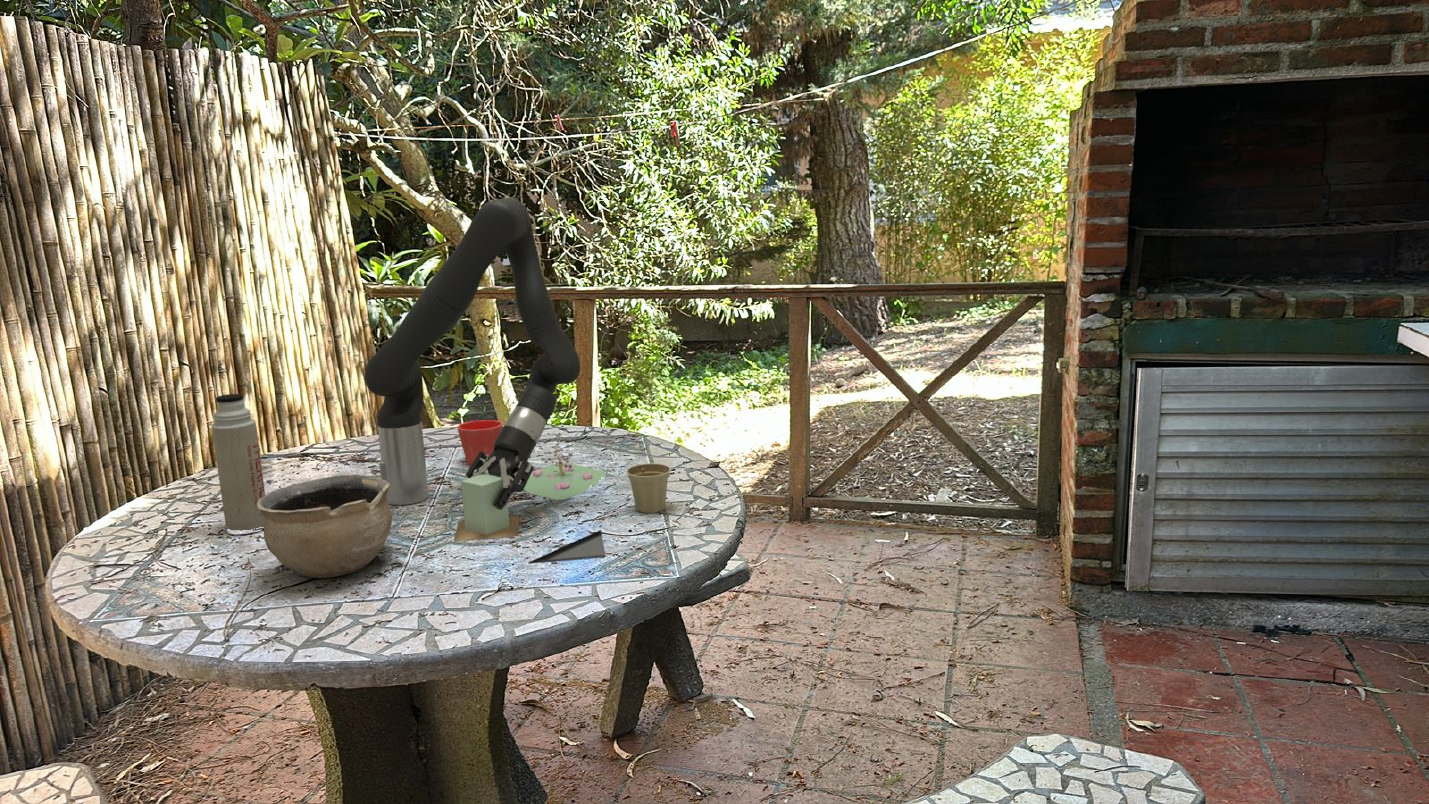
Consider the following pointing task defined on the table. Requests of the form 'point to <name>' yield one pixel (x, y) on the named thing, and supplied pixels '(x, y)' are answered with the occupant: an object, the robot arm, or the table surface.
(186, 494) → the table surface
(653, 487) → the flower pot
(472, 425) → the flower pot
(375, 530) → the ceramic bowl
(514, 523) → the peg stand
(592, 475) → the plant
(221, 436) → the thermos bottle
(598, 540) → the mat
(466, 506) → the sage green tall block
